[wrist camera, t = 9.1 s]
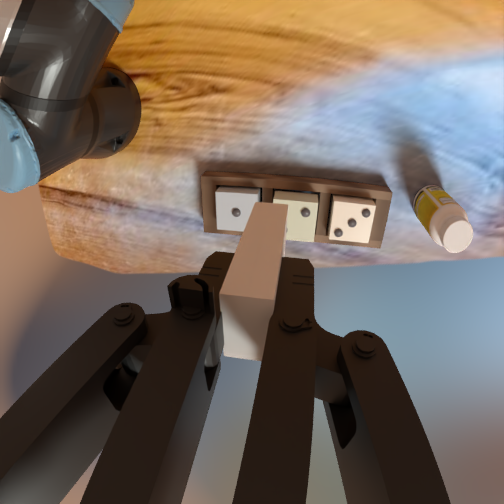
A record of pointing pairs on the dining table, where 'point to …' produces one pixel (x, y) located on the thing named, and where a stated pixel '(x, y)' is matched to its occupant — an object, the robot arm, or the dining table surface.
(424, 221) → the pill bottle
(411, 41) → the dining table surface
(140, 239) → the dining table surface
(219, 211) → the tile one
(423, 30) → the dining table surface
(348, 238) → the tile three
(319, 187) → the tile tray
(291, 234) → the tile two
